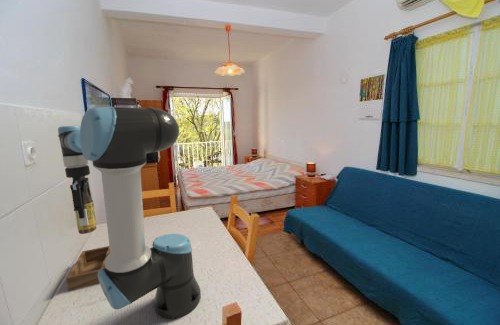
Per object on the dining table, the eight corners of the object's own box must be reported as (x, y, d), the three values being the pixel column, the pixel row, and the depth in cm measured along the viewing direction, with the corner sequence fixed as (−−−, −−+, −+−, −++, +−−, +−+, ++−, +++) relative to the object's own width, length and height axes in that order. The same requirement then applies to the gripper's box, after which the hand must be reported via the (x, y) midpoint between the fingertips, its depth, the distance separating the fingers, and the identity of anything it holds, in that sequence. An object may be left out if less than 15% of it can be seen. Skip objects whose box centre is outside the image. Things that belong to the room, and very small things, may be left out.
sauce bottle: (85, 235, 90) (76, 186, 87) (74, 233, 92) (65, 185, 89) (101, 228, 96) (93, 182, 93) (90, 226, 98) (82, 181, 95)
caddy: (135, 276, 93) (133, 262, 92) (69, 293, 85) (66, 278, 84) (138, 251, 111) (136, 240, 110) (84, 263, 103) (82, 251, 102)
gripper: (80, 168, 82) (91, 229, 86) (94, 161, 100) (102, 212, 104) (54, 171, 79) (66, 233, 83) (73, 163, 97) (83, 215, 101)
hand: (86, 221), depth 93 cm, fingers closed on sauce bottle, 6 cm apart
